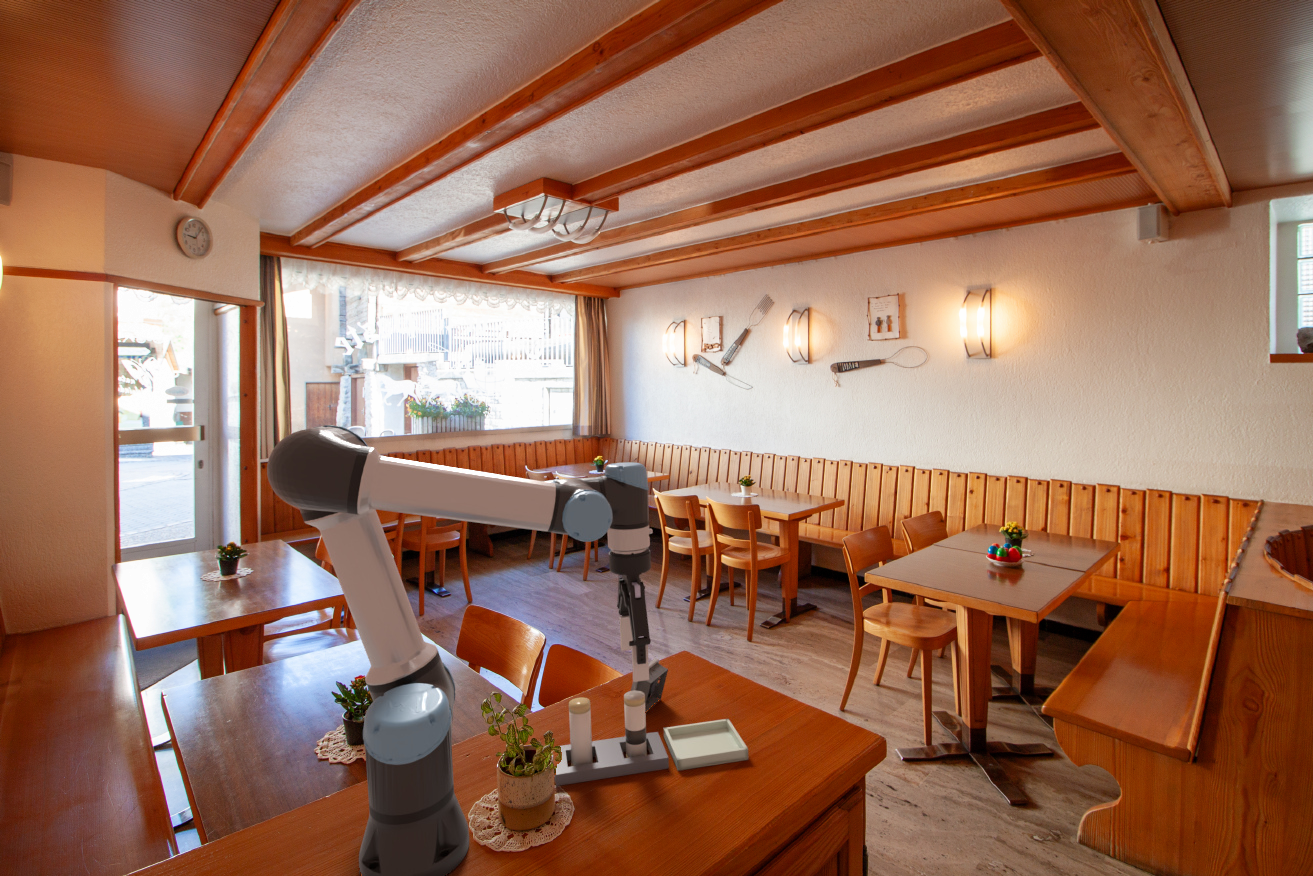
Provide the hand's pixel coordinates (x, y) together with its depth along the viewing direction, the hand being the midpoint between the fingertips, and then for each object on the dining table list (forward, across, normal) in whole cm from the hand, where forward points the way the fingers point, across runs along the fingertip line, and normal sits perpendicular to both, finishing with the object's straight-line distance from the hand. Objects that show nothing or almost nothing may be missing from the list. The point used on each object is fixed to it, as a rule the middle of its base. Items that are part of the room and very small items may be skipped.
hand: (634, 664), depth 116 cm
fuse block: (+18, 0, +5) cm, 19 cm away
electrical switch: (+18, +19, -6) cm, 27 cm away
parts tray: (+18, 0, -13) cm, 22 cm away
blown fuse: (+18, 0, 0) cm, 18 cm away
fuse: (+18, 0, +10) cm, 21 cm away
